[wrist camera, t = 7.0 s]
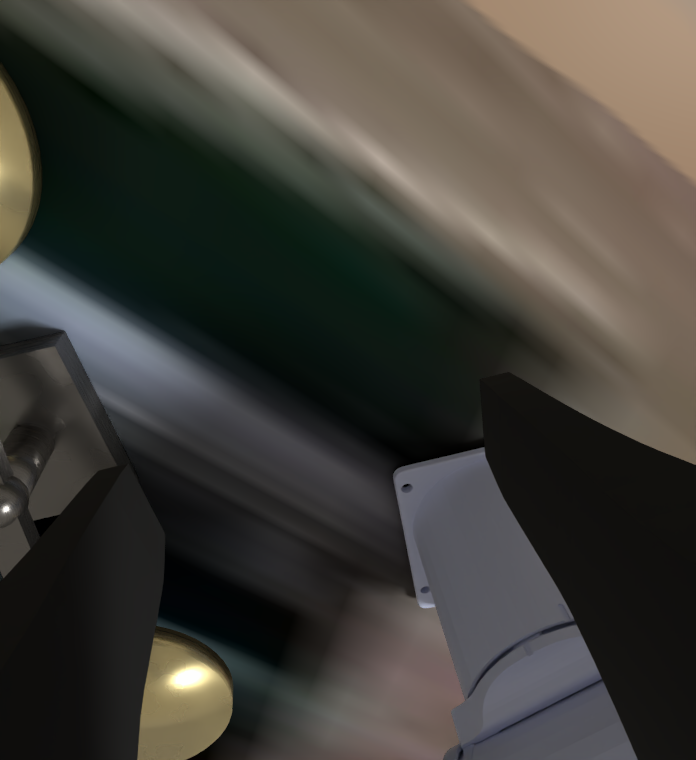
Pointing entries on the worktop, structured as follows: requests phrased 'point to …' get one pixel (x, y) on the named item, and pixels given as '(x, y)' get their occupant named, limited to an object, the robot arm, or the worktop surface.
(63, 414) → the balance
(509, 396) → the robot arm
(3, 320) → the worktop surface
